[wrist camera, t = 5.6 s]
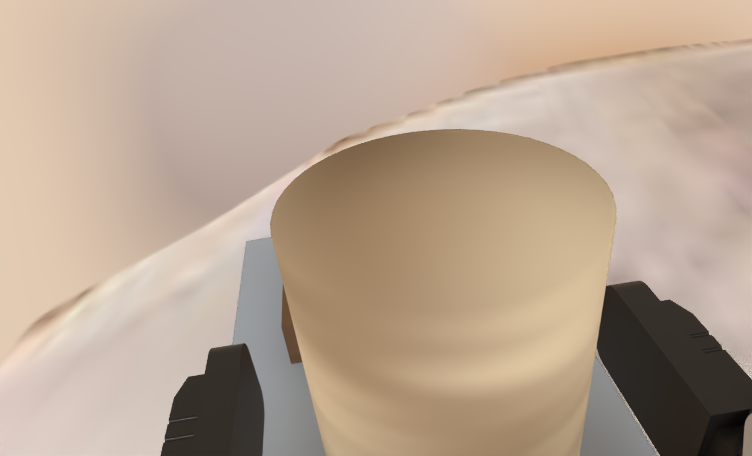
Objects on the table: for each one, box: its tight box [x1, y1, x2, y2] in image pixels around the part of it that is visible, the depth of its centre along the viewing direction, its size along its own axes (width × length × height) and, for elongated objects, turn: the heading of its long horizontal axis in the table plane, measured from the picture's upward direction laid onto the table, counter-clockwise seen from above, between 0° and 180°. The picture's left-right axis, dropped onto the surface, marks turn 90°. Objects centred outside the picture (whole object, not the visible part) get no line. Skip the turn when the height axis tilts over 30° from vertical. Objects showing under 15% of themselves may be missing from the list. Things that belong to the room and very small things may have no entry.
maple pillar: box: [270, 129, 616, 456], centre depth 12 cm, size 5×5×12 cm
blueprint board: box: [232, 237, 657, 456], centre depth 21 cm, size 14×22×1 cm, turn 7°
